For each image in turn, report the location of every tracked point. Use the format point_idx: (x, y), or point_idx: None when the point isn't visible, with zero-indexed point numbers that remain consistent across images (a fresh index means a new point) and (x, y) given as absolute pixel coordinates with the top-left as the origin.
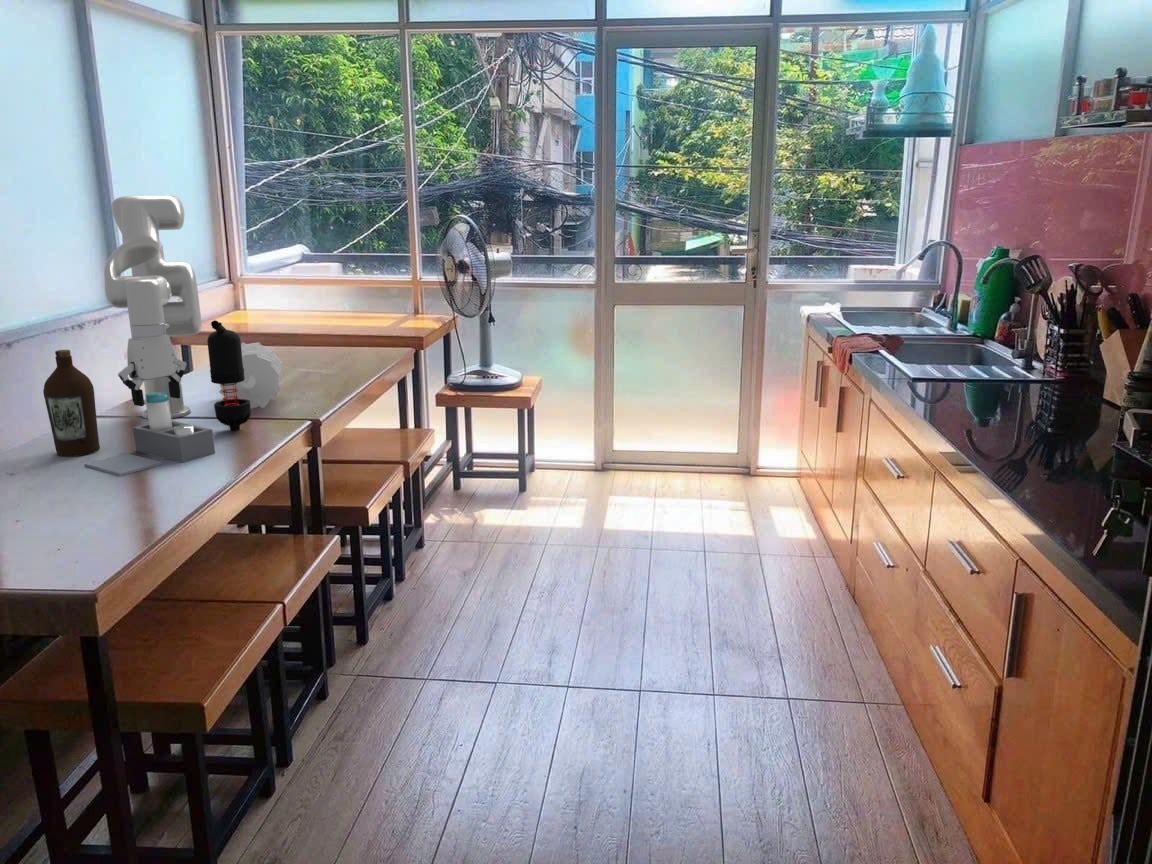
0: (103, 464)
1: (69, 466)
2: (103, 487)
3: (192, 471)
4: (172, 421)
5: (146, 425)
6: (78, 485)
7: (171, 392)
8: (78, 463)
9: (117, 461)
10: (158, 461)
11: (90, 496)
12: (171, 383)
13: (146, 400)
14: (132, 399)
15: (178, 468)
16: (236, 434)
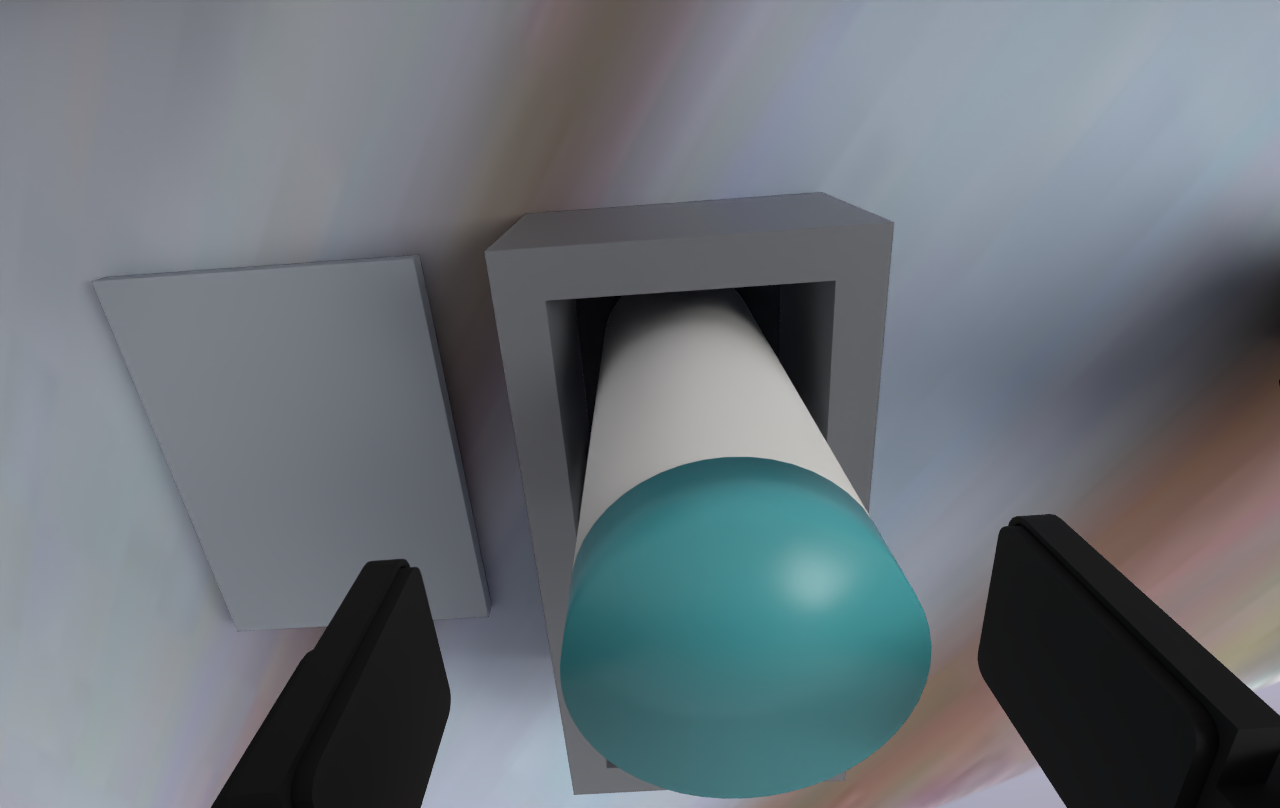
0: (201, 404)
1: (3, 181)
2: (124, 701)
3: (539, 786)
4: (866, 360)
5: (620, 289)
6: (15, 594)
7: (1040, 617)
8: (76, 158)
9: (297, 415)
10: (483, 600)
11: (47, 758)
12: (1157, 797)
13: (572, 580)
14: (295, 674)
15: (519, 714)
16: (1207, 413)
